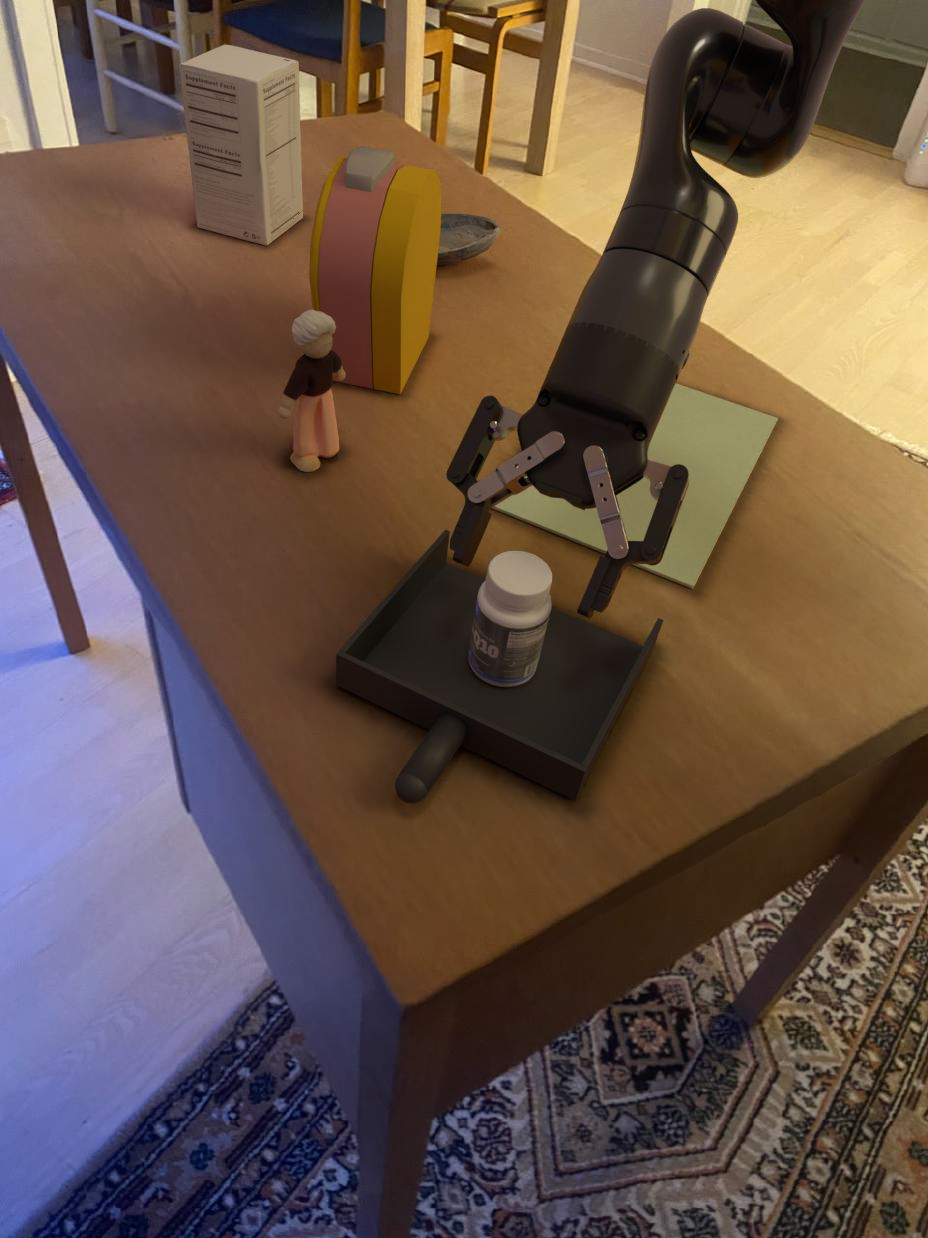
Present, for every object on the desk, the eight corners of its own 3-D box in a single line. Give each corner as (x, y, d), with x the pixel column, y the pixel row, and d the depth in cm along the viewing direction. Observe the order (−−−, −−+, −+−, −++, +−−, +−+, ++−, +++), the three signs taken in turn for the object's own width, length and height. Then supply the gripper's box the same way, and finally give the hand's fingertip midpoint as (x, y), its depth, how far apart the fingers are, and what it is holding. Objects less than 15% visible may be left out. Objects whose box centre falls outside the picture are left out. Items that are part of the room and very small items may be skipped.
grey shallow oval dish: (455, 229, 110) (459, 186, 107) (503, 274, 103) (509, 230, 99) (338, 241, 104) (338, 197, 101) (380, 289, 97) (381, 243, 93)
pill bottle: (456, 645, 61) (469, 553, 55) (518, 630, 63) (537, 539, 57) (484, 697, 58) (501, 605, 52) (549, 679, 60) (572, 588, 54)
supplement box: (236, 200, 110) (224, 41, 98) (305, 218, 108) (301, 58, 96) (194, 228, 103) (175, 61, 91) (266, 247, 101) (257, 79, 89)
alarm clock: (355, 313, 93) (357, 119, 80) (432, 328, 92) (448, 135, 79) (308, 386, 82) (302, 176, 69) (395, 404, 82) (406, 195, 69)
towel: (604, 361, 91) (605, 358, 91) (777, 420, 86) (778, 417, 86) (481, 504, 73) (482, 501, 72) (692, 589, 68) (693, 586, 68)
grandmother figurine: (317, 484, 72) (314, 340, 63) (274, 471, 73) (266, 326, 64) (357, 436, 78) (360, 296, 69) (317, 424, 78) (315, 284, 69)
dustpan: (441, 562, 67) (445, 529, 65) (651, 652, 63) (664, 619, 61) (280, 753, 54) (278, 719, 52) (533, 883, 50) (543, 853, 47)
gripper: (508, 287, 54) (402, 538, 54) (738, 362, 50) (622, 630, 50) (530, 334, 61) (437, 555, 61) (733, 402, 57) (632, 637, 58)
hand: (521, 589), depth 56 cm, fingers open, 8 cm apart
